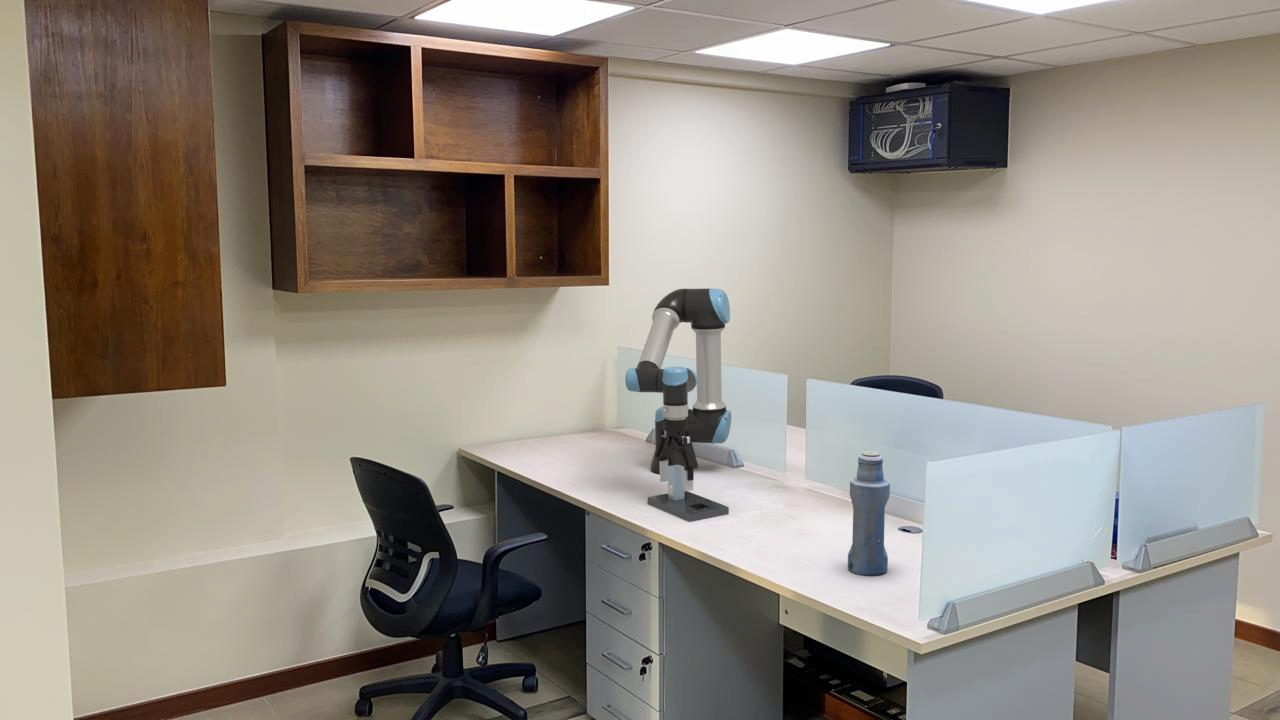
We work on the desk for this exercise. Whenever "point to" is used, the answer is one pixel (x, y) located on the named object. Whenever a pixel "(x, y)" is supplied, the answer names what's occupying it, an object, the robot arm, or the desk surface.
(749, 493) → the desk surface
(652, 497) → the dark grey base plate
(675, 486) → the pale blue rectangular prism
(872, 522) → the bottle
